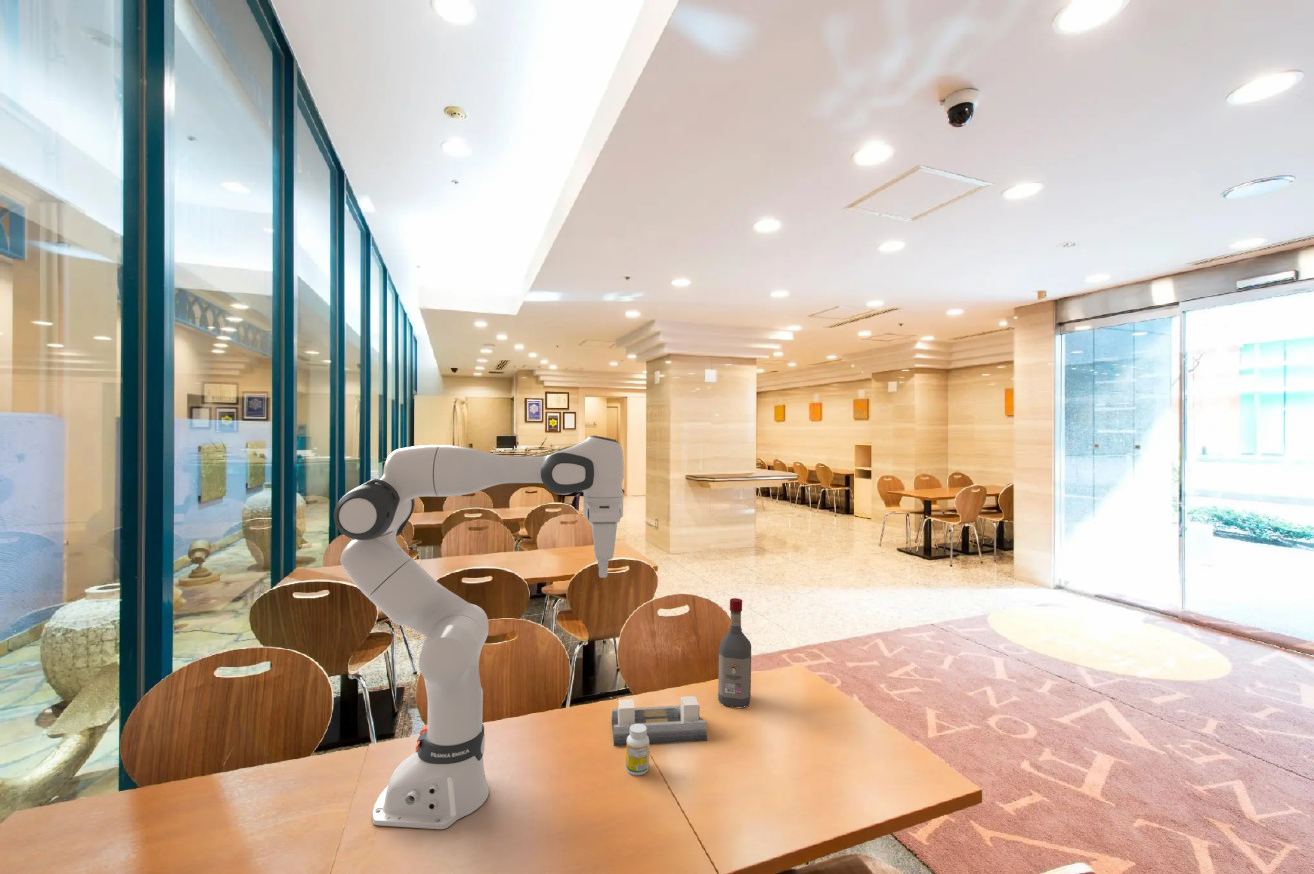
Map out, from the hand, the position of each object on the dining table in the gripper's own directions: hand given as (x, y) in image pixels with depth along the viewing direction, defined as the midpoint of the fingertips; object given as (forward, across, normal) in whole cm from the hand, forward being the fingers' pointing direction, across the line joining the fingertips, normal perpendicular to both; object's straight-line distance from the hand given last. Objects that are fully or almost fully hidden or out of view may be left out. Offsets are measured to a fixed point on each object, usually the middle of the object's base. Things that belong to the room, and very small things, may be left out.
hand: (602, 571), depth 118 cm
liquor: (+48, -36, +41) cm, 73 cm away
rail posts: (+46, -22, +16) cm, 54 cm away
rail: (+48, -22, +16) cm, 55 cm away
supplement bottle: (+48, -6, +9) cm, 49 cm away
